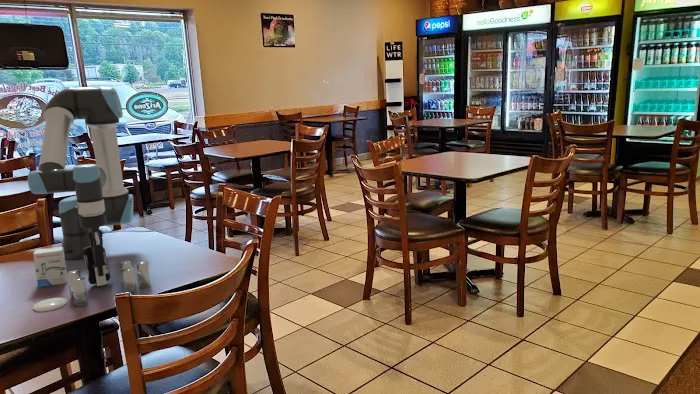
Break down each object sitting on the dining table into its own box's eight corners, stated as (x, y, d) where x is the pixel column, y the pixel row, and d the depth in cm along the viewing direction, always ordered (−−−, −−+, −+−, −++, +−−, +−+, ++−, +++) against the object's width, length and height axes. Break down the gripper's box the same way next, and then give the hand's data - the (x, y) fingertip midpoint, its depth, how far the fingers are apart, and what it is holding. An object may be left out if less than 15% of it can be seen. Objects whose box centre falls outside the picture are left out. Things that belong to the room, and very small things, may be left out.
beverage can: (101, 280, 166) (94, 244, 168) (84, 285, 168) (77, 249, 170) (115, 278, 172) (108, 244, 174) (99, 283, 174) (92, 249, 176)
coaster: (32, 304, 157) (32, 302, 157) (65, 296, 162) (65, 295, 162) (33, 314, 150) (33, 312, 150) (68, 306, 155) (68, 305, 154)
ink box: (37, 287, 170) (31, 253, 168) (39, 282, 175) (34, 249, 172) (66, 283, 174) (61, 250, 171) (68, 278, 178) (63, 246, 176)
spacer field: (70, 295, 163) (66, 271, 161) (146, 279, 175) (144, 257, 173) (73, 308, 153) (70, 282, 152) (154, 290, 165) (151, 266, 164)
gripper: (76, 211, 165) (86, 281, 170) (81, 219, 155) (91, 293, 160) (102, 208, 169) (111, 276, 174) (108, 215, 159) (117, 287, 164)
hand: (101, 284), depth 167 cm, fingers closed
